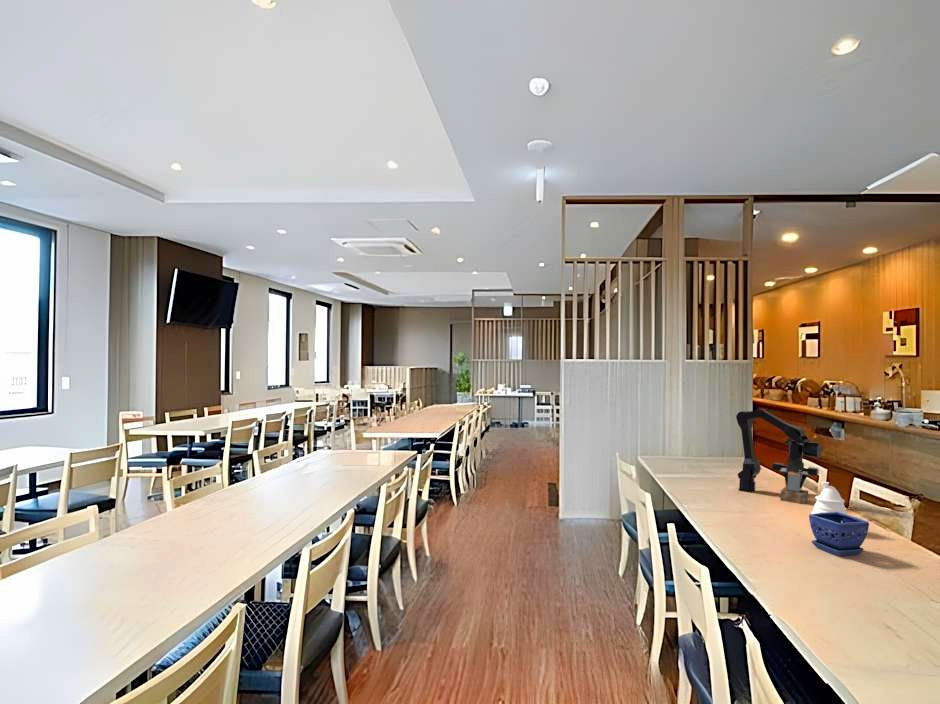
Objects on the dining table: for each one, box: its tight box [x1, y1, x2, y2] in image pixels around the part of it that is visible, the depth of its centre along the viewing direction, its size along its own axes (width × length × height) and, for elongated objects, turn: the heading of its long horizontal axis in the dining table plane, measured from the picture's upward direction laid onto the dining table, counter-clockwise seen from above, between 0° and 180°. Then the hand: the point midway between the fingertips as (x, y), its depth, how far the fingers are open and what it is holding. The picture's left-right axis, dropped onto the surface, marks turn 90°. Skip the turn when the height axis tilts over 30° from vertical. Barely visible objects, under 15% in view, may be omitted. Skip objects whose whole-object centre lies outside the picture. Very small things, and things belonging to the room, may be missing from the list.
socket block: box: [780, 486, 809, 505], centre depth 281 cm, size 10×10×4 cm
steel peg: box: [787, 471, 802, 493], centre depth 281 cm, size 5×5×9 cm
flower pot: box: [808, 512, 870, 557], centre depth 209 cm, size 13×13×12 cm
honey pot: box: [810, 480, 848, 523], centre depth 237 cm, size 13×13×18 cm
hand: (794, 487), depth 281 cm, fingers closed on steel peg, 5 cm apart
